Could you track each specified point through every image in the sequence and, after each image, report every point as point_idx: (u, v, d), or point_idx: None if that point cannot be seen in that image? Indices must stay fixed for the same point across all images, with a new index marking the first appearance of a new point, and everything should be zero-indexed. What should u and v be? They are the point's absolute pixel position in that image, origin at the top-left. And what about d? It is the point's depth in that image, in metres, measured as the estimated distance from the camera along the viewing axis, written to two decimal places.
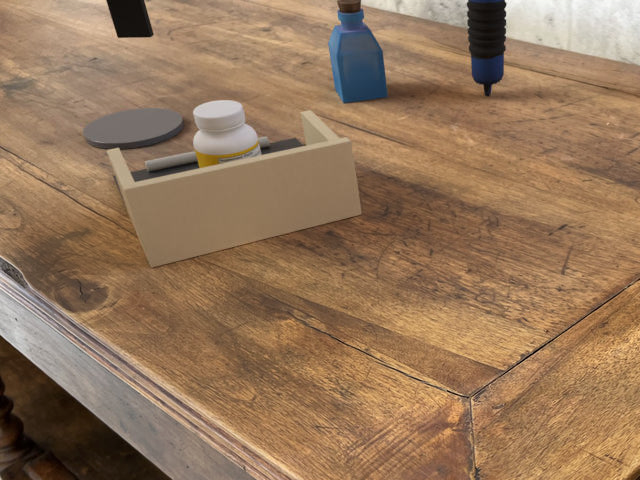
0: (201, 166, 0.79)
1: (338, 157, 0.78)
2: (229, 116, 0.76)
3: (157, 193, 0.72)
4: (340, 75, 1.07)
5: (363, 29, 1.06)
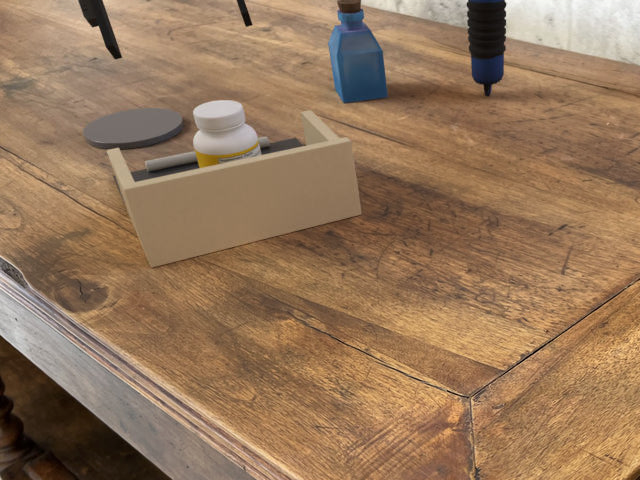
0: (201, 166, 0.79)
1: (338, 157, 0.78)
2: (229, 116, 0.76)
3: (157, 193, 0.72)
4: (340, 75, 1.07)
5: (363, 29, 1.06)
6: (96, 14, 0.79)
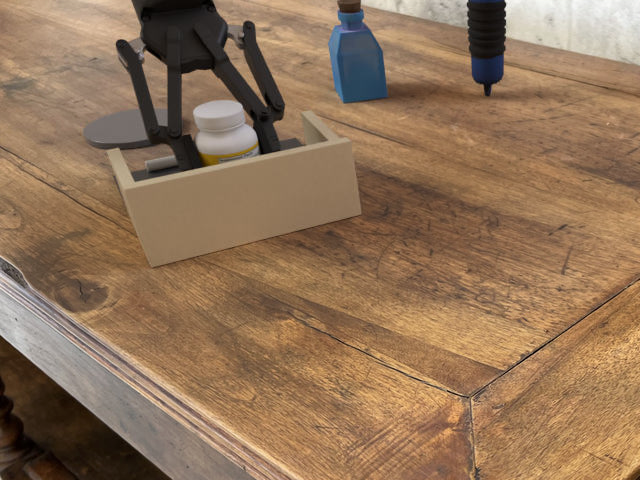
0: None
1: (338, 157, 0.78)
2: (229, 116, 0.76)
3: (157, 193, 0.72)
4: (340, 75, 1.07)
5: (363, 29, 1.06)
6: (195, 164, 0.77)
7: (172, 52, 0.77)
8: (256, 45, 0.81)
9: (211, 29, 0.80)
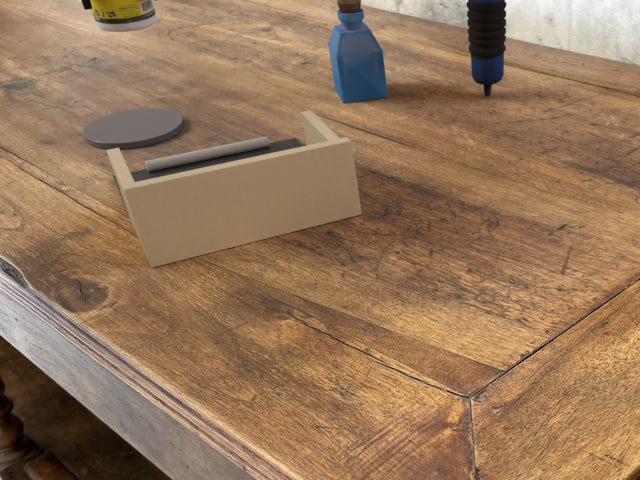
0: None
1: (338, 157, 0.78)
2: None
3: (157, 193, 0.72)
4: (340, 75, 1.07)
5: (363, 29, 1.06)
6: None
7: None
8: None
9: None
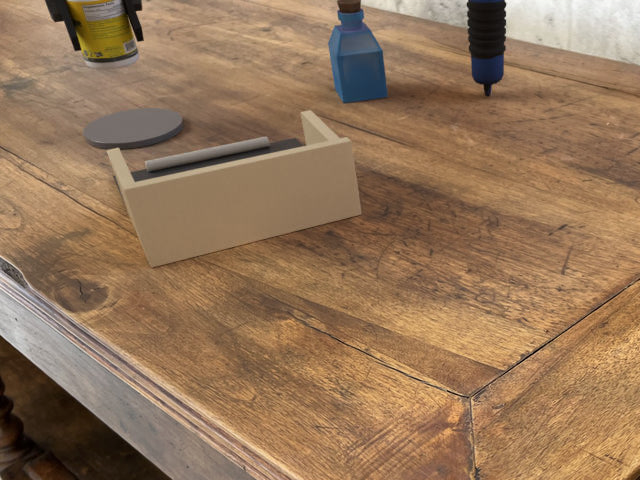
0: (70, 14, 0.91)
1: (338, 157, 0.78)
2: None
3: (157, 193, 0.72)
4: (340, 75, 1.07)
5: (363, 29, 1.06)
6: (62, 10, 0.90)
7: None
8: None
9: None
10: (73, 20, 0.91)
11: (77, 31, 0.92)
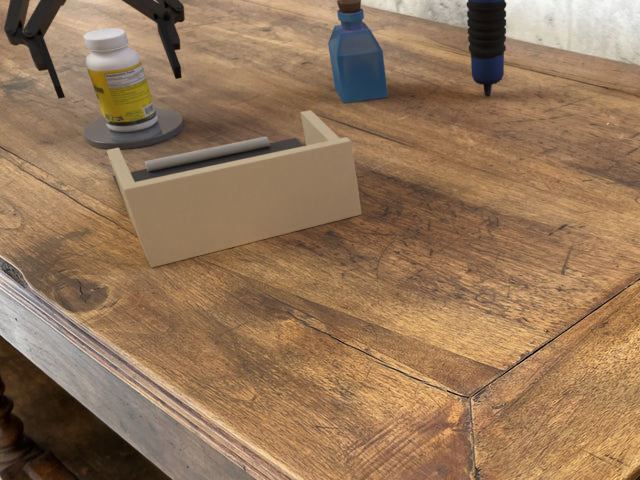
0: (92, 82, 0.96)
1: (338, 157, 0.78)
2: (112, 39, 0.93)
3: (157, 193, 0.72)
4: (340, 75, 1.07)
5: (363, 29, 1.06)
6: (45, 60, 0.93)
7: None
8: None
9: None
10: (96, 87, 0.96)
11: (99, 97, 0.97)
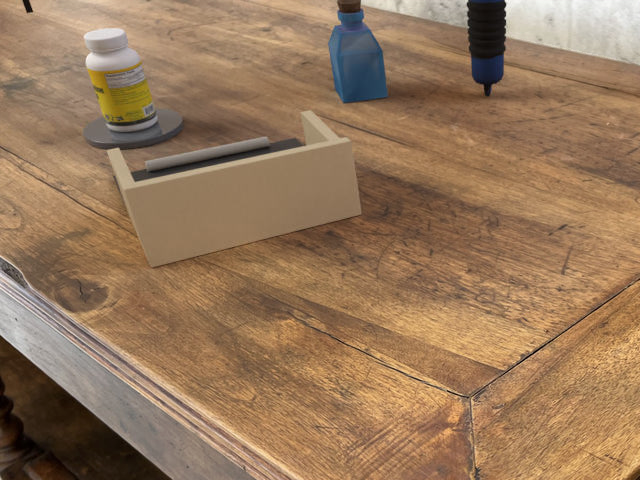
0: (92, 82, 0.96)
1: (338, 157, 0.78)
2: (112, 39, 0.93)
3: (157, 193, 0.72)
4: (340, 75, 1.07)
5: (363, 29, 1.06)
6: None
7: None
8: None
9: None
10: (96, 87, 0.96)
11: (99, 97, 0.97)
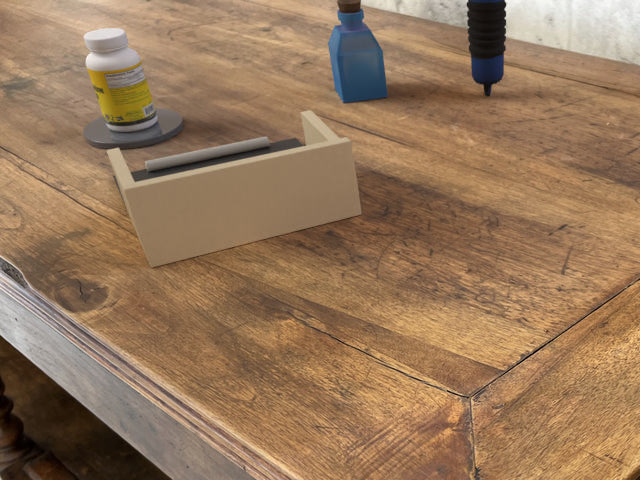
0: (92, 82, 0.96)
1: (338, 157, 0.78)
2: (112, 39, 0.93)
3: (157, 193, 0.72)
4: (340, 75, 1.07)
5: (363, 29, 1.06)
6: None
7: None
8: None
9: None
10: (96, 87, 0.96)
11: (99, 97, 0.97)
